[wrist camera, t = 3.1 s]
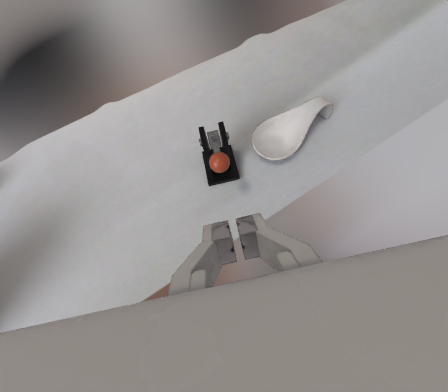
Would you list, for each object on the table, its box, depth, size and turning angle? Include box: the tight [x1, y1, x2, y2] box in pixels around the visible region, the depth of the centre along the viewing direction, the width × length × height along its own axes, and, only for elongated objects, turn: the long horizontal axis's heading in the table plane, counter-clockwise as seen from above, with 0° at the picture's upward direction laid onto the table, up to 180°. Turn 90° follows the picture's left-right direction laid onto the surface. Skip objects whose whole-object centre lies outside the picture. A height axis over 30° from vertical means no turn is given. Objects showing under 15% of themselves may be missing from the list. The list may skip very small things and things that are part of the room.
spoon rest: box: [252, 96, 333, 161], centre depth 41 cm, size 24×12×7 cm, turn 126°
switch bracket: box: [199, 122, 240, 186], centre depth 37 cm, size 10×8×13 cm
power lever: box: [207, 130, 230, 173], centre depth 29 cm, size 13×3×3 cm
